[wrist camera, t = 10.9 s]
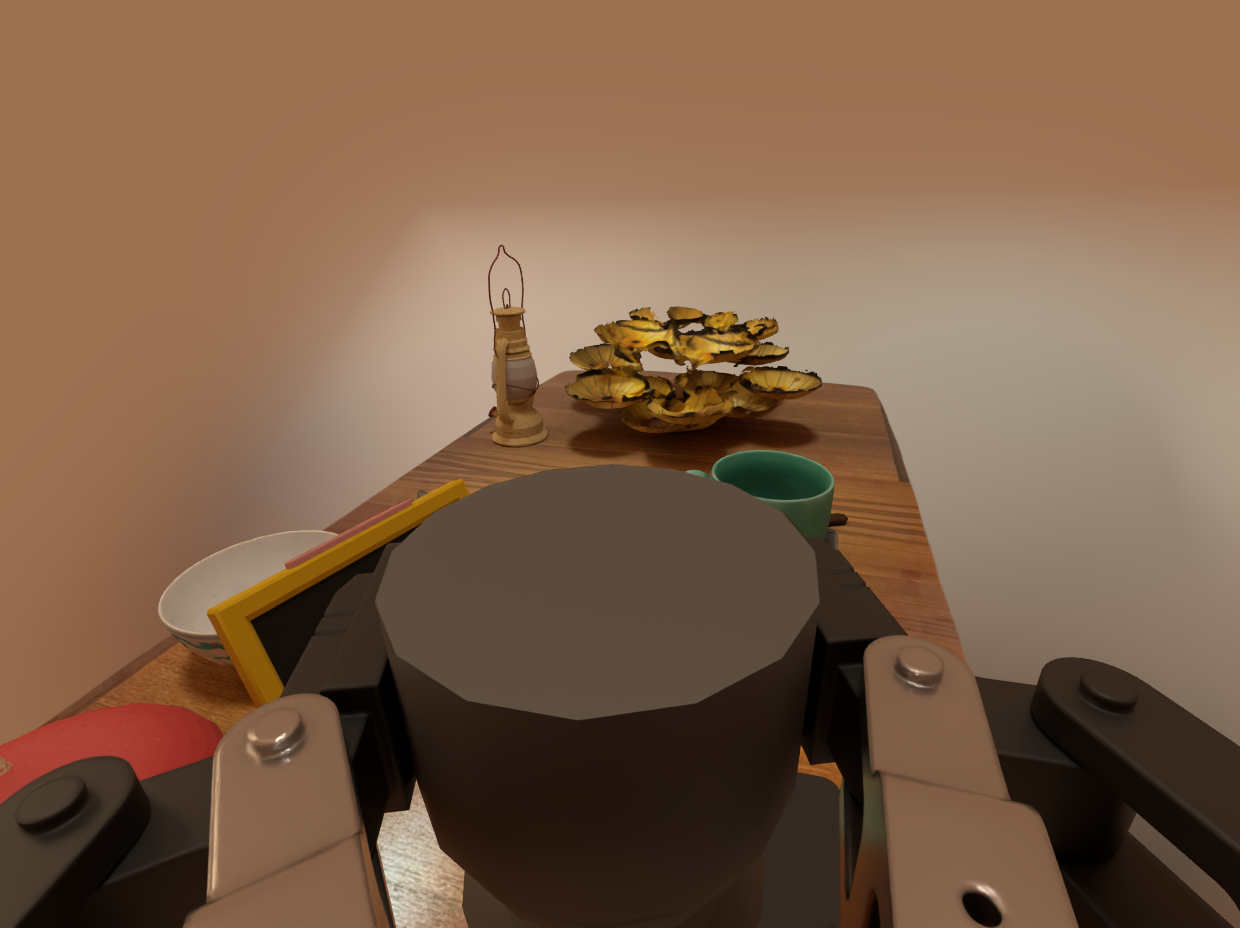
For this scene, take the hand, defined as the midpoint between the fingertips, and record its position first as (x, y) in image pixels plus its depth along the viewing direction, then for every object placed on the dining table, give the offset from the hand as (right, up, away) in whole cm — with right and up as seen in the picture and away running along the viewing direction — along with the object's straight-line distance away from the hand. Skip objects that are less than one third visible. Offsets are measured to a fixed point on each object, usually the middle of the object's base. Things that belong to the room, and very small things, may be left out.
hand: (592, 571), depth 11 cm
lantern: (-16, +6, +89) cm, 91 cm away
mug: (+15, -8, +57) cm, 59 cm away
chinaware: (-30, -15, +44) cm, 55 cm away
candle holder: (+1, -22, +7) cm, 23 cm away
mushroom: (+12, +9, +93) cm, 94 cm away
